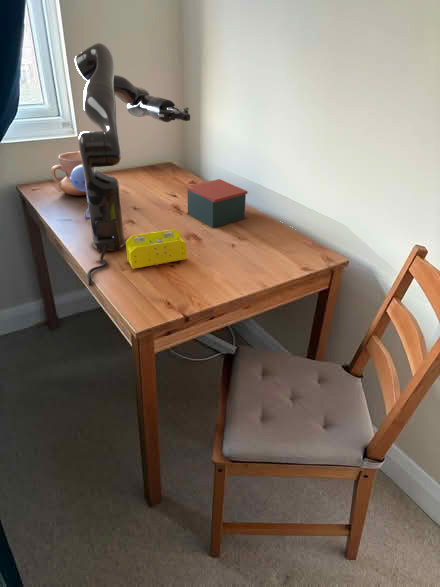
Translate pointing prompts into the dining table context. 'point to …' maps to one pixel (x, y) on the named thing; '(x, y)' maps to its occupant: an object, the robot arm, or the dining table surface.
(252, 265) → the dining table surface
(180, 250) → the yellow toy chassis
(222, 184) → the sorter lid
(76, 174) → the baby rattle
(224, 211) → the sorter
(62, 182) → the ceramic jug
